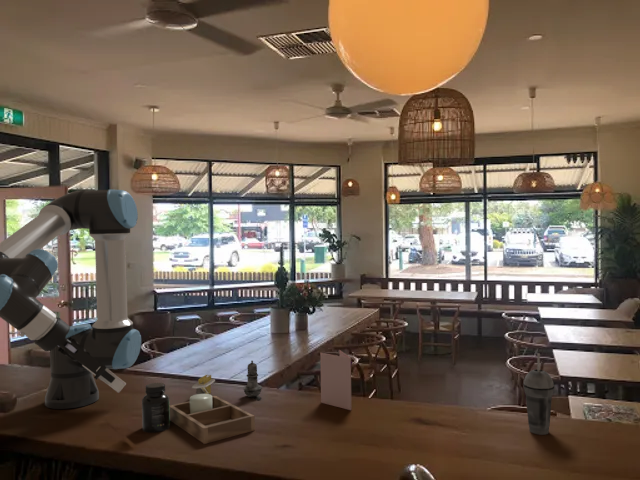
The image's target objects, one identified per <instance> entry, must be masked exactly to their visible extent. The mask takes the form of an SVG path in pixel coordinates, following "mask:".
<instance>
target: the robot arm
mask: <svg viewBox="0 0 640 480" xmlns="http://www.w3.org/2000/svg"><path fill="white" fill-rule="evenodd" d="M134 199H135V198H133V196H132V194H130V193H129V192H128V191H126V190H124V189H113V188H112V189H111V188H110V189H94V190H89V189H87V190H83V189H82V190H76V191H75V190H74V191H72V192H68V193H66V194H64V195H61V196H59V197H58V198H55V199H54V200H53V201H50V202H49V203H47V204H45V206H43V207H42V208H41V209H40V210H39V212H38V215H37V216H35V217H34V218H33V219H31V220H30V221H29V222H27V223H26V224H24V225H23V226H22V227H20V228H19V229H18V230H16V231H14V232H13V233H12V234H11V235H9V236H8V237H6V238H5V239H3V240H2V241H1V242H0V319H1V320H3V321H5V322H6V323H7V324H8V325H10V326H12V327H13V328H14V329H16V330H17V331H18V332H19V336H20V337H21V338H23V337H26V338H27V339H29V340H30V341H34V344H35V345H36V346H37V347H39V348H40V349H42V351H44V352H49V357H50V358H49V359H50V363H49V364H50V381H49V384H48V387H47V390H46V394H45V396H44V406H45V407H46V408H49V409H54V410H64V409H75V408H81V407H85V406H88V405H91V404H93V403H95V402H97V401H99V398H100V391H99V388H98V385H97V384H96V380H98V379H99V380H100V381H101V382H104V383H105V384H106V385H108V386H109V387H110V388H112V389H113V390H114V391H115V392H116V393H118V394H119V393H120V392H121V391H122V390H123V388H125V386H126V385H127V382H126V381H124V380H123V379H121V378H120V377H119V376H118V375H117V374H115V373H114V372H113V371H111V370H110V369H112V370H118V369H119V370H121V369H128V368H131V367H132V366H133V365H134V364H135V362H136V361H137V359H138V356H139V355H140V352H141V347H142V335H141V333H140V331H139V330H138V329H135V328H134V322H133V321H132V320H131V319H130V318H129V317H128V286H127V284H128V283H127V257H126V255H127V252H126V240H127V238H128V237H129V236H130V235H131V229H133V228H135V226H136V225H137V221H138V215H139V214H138V208H137V207H138V206H137V204H136V202H135V201H136V200H134ZM81 229H82V230H84V229H85V230H87V229H88V234H89V236H90V237H91V238H92V239H93V240H94V250H95V251H94V252H95V254H94V255H95V256H94V257H95V281H96V282H95V283H96V286H95V288H96V315H97V316H96V317H97V319H96V321H95V322H94V323H92V325H91V324H90V323H84V324H83V323H82V324H76V325H71V326H70V325H69V324H68V323H67V322H65V321H64V320H63V319H62V318H60V317H57V314H56V313H55V312H54V311H53V310H51V309H50V308H49V307H47V306H46V305H44V304H43V303H42V302H41V301H39V300H38V299H37V298H38V296H39V295H40V294H41V292H42V291H43V289H44V288H45V287H46V286H47V284H49V282H50V281H51V280H52V279H53V276H54V275H55V273H56V272H57V271H58V266H59V264H58V261H57V258H56V257H55V255H54V254H53V253H51V252H50V251H48V250H45V249H43V248H44V247H45V246H47V245H48V244H49V243H51V242H52V240H54V239H55V238H57V237H58V236H63V235H64V236H65V235H66V234H67V233H68V232H70V231H74V230H81Z"/></svg>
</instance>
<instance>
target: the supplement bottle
mask: <svg viewBox="0 0 640 480" xmlns="http://www.w3.org/2000/svg"><path fill="white" fill-rule="evenodd" d="M144 393H145V395H144V396H143V397H142V399H141V416H142V417H141V426H142V431H143V432H145V433H148V434H150V433H151V434H152V433H153V434H154V433H162V432H164V431H167V430H169V429H170V428H171V421H170V408H169V406H170V397H169V395H168V394H167V393H166V384H165V383H164V382H153V383H152V382H151V383H148V384H146V385H145V392H144Z"/></svg>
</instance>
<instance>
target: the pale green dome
mask: <svg viewBox="0 0 640 480" xmlns="http://www.w3.org/2000/svg"><path fill="white" fill-rule="evenodd" d="M212 396H213V395H212V394H211V393H210V394H197V393H196V394H193V395H191V396H190V397H189V401H190V414H192V413H196V412H201V411H205V410H209V409H213V407H212Z"/></svg>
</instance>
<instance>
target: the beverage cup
mask: <svg viewBox="0 0 640 480" xmlns="http://www.w3.org/2000/svg"><path fill="white" fill-rule="evenodd" d="M540 356H541V354H540V353H539V352H537V369H532V370H529V372H527V374H526V375H525V377H524V380H523V390H524V393H525V394H524V395H525V403H526V412H527V421H528V422H527V423H528V424H527V425H528V428H529V432H530V433H532V434H535V435H540V436H543V435H548V434H549V432H550V424H551V413H552V412H551V411H552V402H553V400H552V399H553V395H554V389H555V385H554V381H553V378H552V377H551V375H550V374H549V372H547V371H546V370H543V369H541V357H540Z"/></svg>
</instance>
